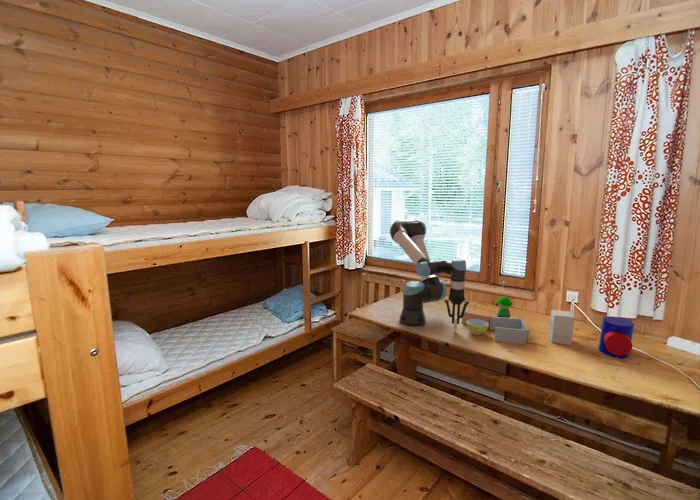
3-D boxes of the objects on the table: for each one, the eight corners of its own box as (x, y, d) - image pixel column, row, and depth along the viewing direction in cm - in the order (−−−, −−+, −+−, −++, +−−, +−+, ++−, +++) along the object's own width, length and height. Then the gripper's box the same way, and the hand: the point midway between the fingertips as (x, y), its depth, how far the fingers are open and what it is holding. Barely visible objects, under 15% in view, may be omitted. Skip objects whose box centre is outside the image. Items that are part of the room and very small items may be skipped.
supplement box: (567, 338, 188) (570, 311, 185) (571, 345, 180) (575, 317, 177) (548, 335, 191) (551, 309, 188) (551, 342, 182) (554, 315, 180)
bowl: (471, 327, 201) (472, 317, 200) (491, 333, 193) (492, 322, 192) (461, 333, 194) (462, 322, 192) (481, 340, 186) (482, 329, 184)
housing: (494, 341, 184) (495, 327, 183) (490, 329, 199) (491, 316, 198) (527, 344, 181) (529, 330, 179) (520, 331, 196) (522, 318, 194)
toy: (508, 318, 214) (510, 294, 212) (513, 324, 206) (515, 299, 203) (493, 317, 215) (494, 294, 212) (497, 323, 207) (499, 298, 204)
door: (462, 322, 209) (463, 310, 207) (490, 328, 200) (491, 315, 199) (461, 323, 207) (462, 311, 206) (489, 329, 199) (490, 316, 197)
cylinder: (632, 364, 161) (637, 331, 158) (600, 357, 167) (604, 325, 164) (625, 346, 178) (630, 316, 175) (596, 341, 184) (601, 312, 181)
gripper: (444, 289, 189) (442, 330, 194) (470, 290, 186) (467, 333, 191) (444, 285, 196) (442, 325, 201) (469, 286, 193) (466, 327, 198)
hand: (454, 329), depth 196 cm, fingers closed
